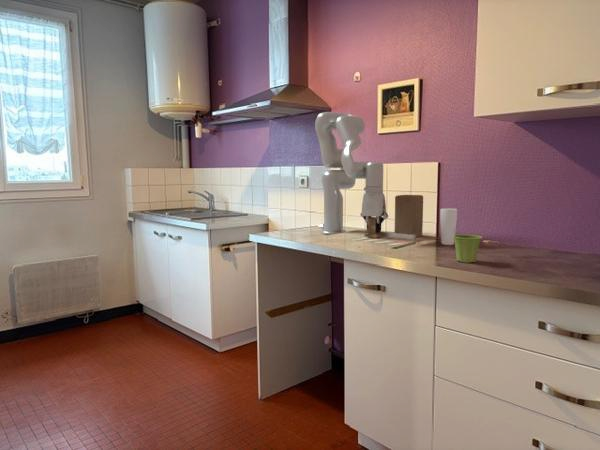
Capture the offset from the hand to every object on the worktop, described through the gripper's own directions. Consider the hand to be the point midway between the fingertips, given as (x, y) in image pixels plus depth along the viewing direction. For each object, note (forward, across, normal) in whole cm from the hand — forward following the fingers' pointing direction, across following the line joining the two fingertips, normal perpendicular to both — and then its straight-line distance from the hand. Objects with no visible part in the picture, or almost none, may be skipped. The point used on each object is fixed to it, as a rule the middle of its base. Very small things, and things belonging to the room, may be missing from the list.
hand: (373, 231), depth 195 cm
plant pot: (+5, +49, -18) cm, 52 cm away
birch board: (+4, +7, -4) cm, 9 cm away
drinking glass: (+5, +29, +12) cm, 32 cm away
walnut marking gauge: (+2, 0, 0) cm, 2 cm away
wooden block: (+5, +9, +15) cm, 18 cm away
